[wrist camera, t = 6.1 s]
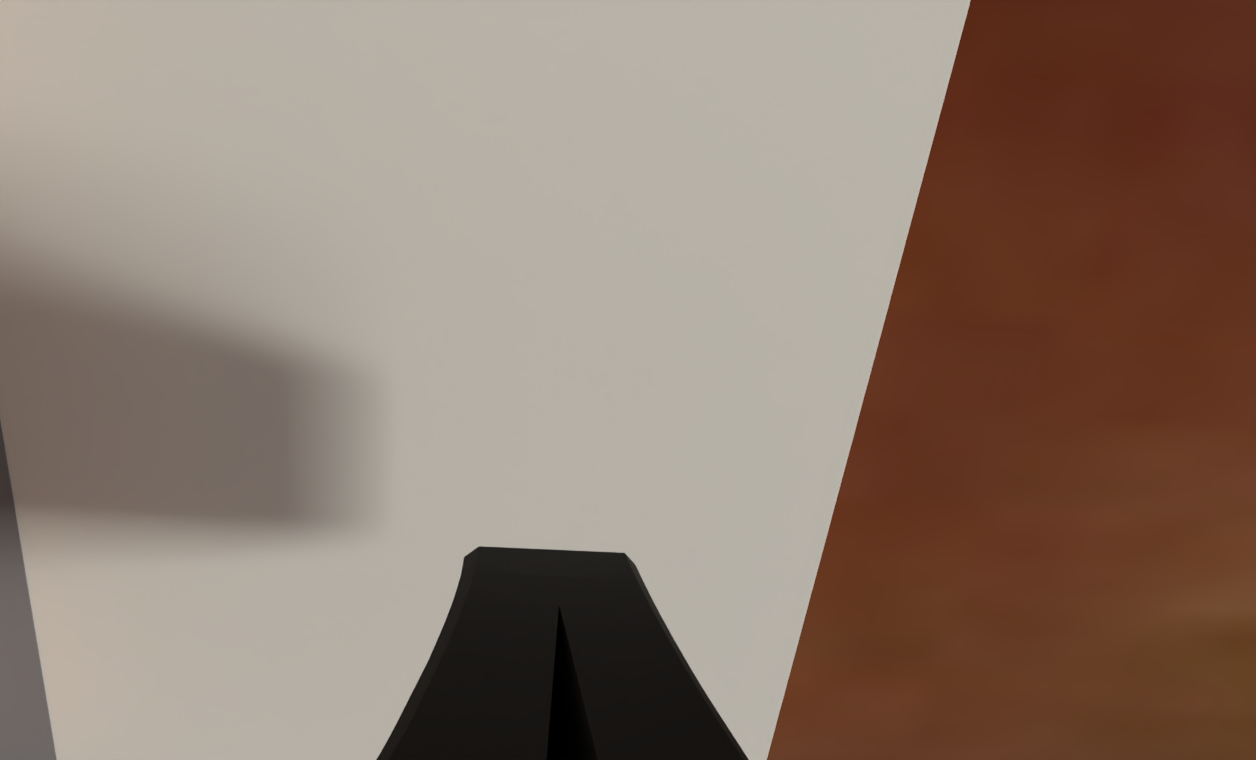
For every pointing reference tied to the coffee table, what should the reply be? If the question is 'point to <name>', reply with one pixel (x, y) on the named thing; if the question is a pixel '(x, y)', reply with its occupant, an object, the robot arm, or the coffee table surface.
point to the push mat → (425, 337)
